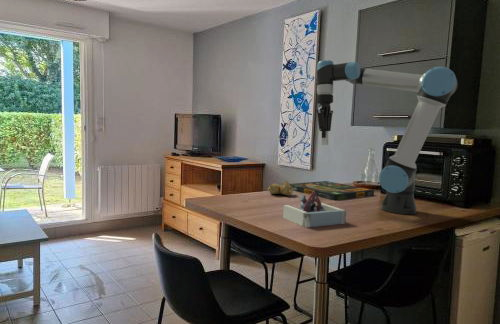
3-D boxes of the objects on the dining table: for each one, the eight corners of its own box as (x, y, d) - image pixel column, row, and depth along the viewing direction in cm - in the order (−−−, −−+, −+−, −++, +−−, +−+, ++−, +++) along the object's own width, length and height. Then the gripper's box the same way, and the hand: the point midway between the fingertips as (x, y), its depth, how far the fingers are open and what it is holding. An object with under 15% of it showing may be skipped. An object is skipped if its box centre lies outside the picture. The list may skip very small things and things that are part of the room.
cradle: (283, 217, 150) (283, 205, 149) (320, 214, 159) (321, 202, 158) (305, 227, 136) (306, 213, 136) (345, 223, 145) (346, 210, 145)
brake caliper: (318, 218, 142) (304, 190, 146) (298, 229, 149) (285, 202, 153) (334, 214, 150) (321, 187, 154) (315, 225, 157) (302, 200, 161)
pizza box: (325, 186, 241) (326, 181, 241) (373, 196, 214) (374, 190, 214) (286, 190, 219) (286, 184, 219) (334, 201, 192) (334, 194, 192)
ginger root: (288, 196, 189) (286, 180, 190) (262, 199, 198) (259, 184, 199) (301, 193, 203) (299, 178, 203) (276, 196, 211) (274, 182, 212)
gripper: (323, 97, 184) (323, 145, 184) (311, 93, 173) (311, 144, 174) (338, 95, 179) (338, 145, 180) (326, 92, 169) (326, 144, 169)
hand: (324, 145), depth 177 cm, fingers closed
